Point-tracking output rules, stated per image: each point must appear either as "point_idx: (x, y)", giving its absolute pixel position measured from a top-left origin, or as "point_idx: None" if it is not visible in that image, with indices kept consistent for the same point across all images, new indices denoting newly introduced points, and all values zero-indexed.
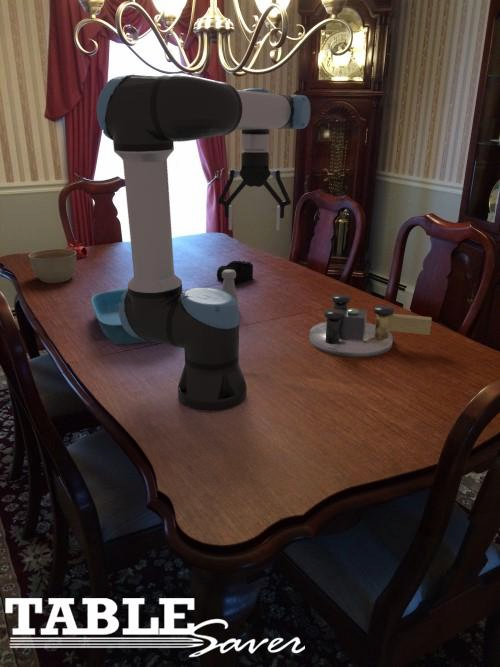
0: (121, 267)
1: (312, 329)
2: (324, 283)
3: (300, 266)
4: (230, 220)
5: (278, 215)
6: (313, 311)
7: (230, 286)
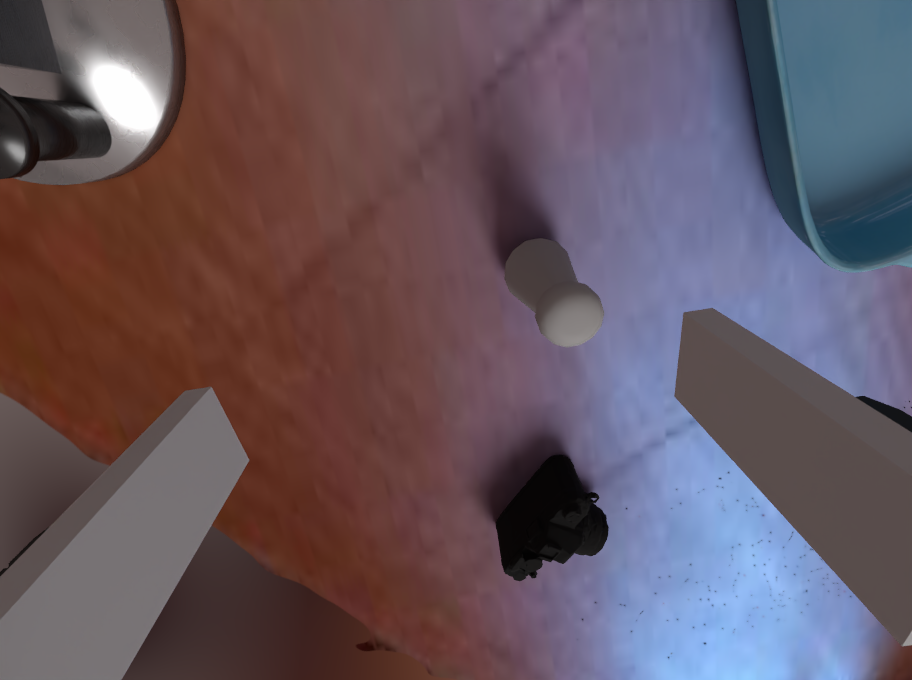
0: None
1: (159, 32)
2: (297, 547)
3: (392, 643)
4: (767, 360)
5: (74, 517)
6: (257, 317)
7: (547, 275)
